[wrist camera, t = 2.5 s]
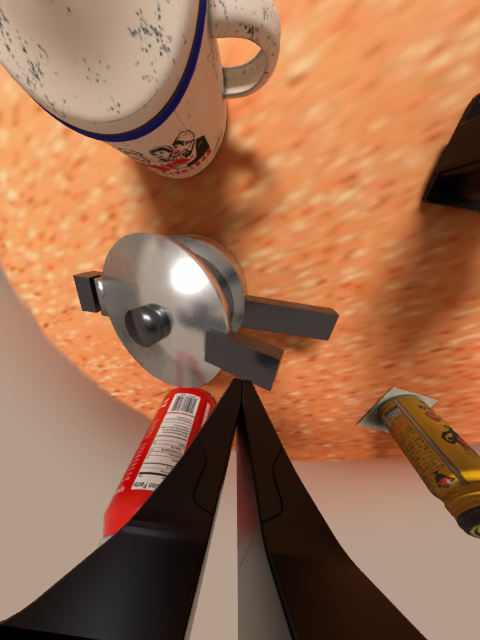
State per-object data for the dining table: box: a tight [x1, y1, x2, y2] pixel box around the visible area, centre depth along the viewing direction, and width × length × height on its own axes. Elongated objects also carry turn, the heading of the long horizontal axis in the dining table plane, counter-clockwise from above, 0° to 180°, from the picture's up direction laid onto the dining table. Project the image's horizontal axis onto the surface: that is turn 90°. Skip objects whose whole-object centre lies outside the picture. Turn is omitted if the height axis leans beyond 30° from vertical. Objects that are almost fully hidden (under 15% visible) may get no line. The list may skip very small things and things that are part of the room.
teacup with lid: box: [0, 0, 281, 179], centre depth 9 cm, size 12×9×12 cm
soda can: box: [98, 387, 215, 548], centre depth 21 cm, size 8×8×15 cm
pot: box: [73, 234, 339, 340], centre depth 18 cm, size 22×11×6 cm, turn 82°
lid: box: [94, 233, 284, 391], centre depth 12 cm, size 15×11×2 cm
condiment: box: [358, 387, 480, 538], centre depth 21 cm, size 7×8×12 cm
